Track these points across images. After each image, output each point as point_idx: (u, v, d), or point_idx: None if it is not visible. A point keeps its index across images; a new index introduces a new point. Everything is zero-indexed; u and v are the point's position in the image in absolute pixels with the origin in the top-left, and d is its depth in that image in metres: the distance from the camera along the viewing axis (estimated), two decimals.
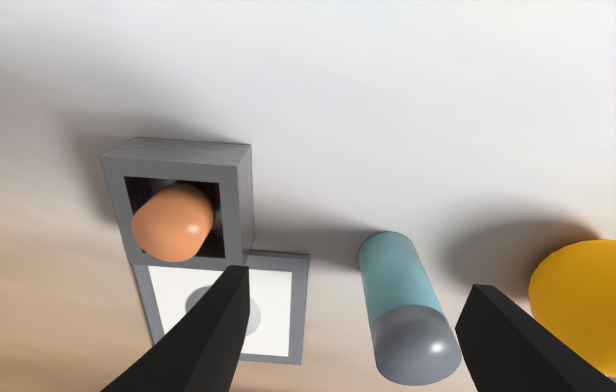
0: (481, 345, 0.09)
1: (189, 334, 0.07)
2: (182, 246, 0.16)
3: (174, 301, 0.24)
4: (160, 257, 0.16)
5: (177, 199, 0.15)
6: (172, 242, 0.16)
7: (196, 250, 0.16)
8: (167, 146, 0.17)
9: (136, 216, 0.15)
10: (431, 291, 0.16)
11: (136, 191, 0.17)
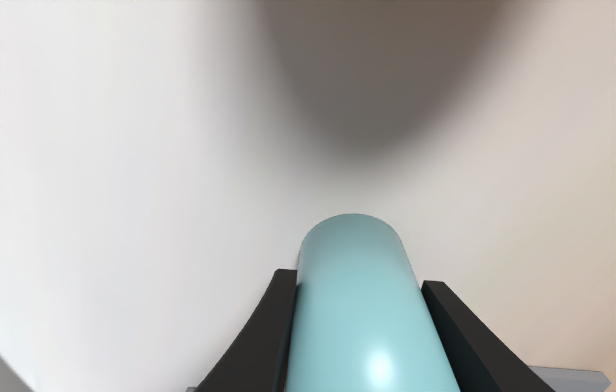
0: None
1: (259, 340, 0.06)
2: None
3: None
4: None
5: None
6: None
7: None
8: None
9: None
10: (307, 351, 0.07)
11: None
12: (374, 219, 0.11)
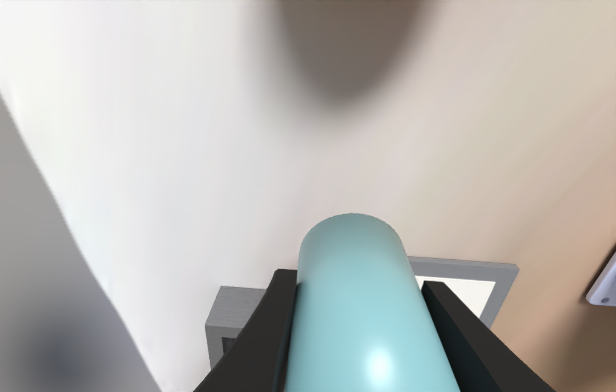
0: None
1: (259, 340, 0.06)
2: None
3: None
4: None
5: None
6: None
7: None
8: None
9: None
10: (307, 351, 0.07)
11: None
12: (374, 219, 0.11)
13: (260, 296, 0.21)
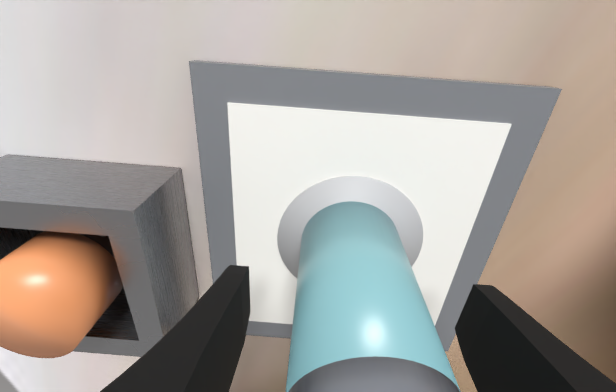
0: (481, 345, 0.09)
1: (189, 334, 0.07)
2: (33, 305, 0.09)
3: None
4: (82, 335, 0.10)
5: None
6: (32, 317, 0.09)
7: (32, 288, 0.09)
8: None
9: (7, 346, 0.10)
10: (309, 316, 0.08)
11: None
12: (371, 206, 0.11)
13: (70, 167, 0.11)
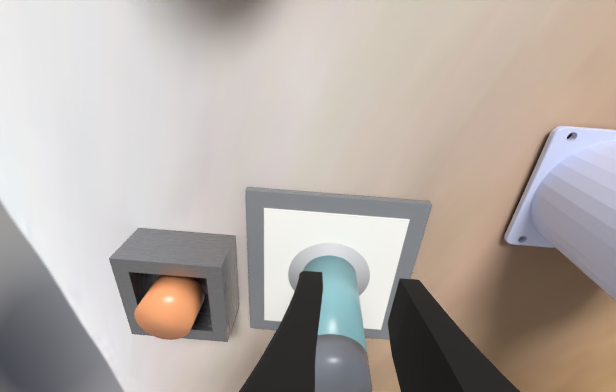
0: (402, 339, 0.09)
1: (295, 343, 0.06)
2: (172, 312, 0.19)
3: None
4: (191, 327, 0.19)
5: None
6: (170, 318, 0.19)
7: (174, 305, 0.18)
8: None
9: (151, 333, 0.20)
10: None
11: None
12: (339, 258, 0.21)
13: (176, 237, 0.21)
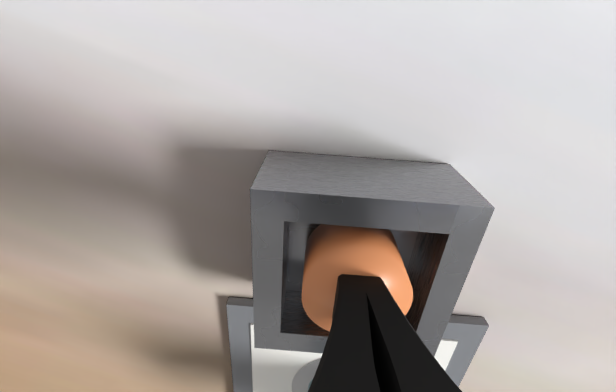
0: None
1: (351, 347, 0.06)
2: None
3: (277, 373, 0.17)
4: None
5: (377, 244, 0.10)
6: None
7: None
8: (334, 167, 0.10)
9: (317, 273, 0.09)
10: None
11: (285, 241, 0.10)
12: None
13: None
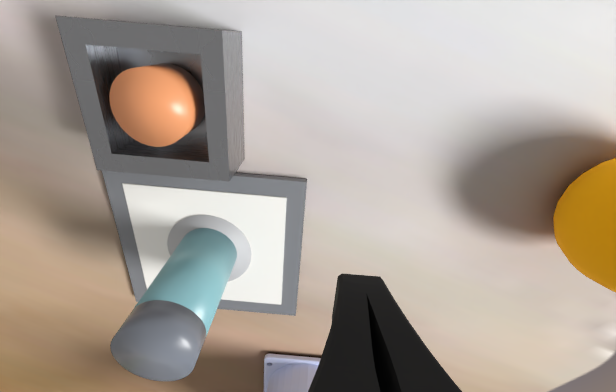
0: None
1: (351, 347, 0.06)
2: (167, 125, 0.14)
3: (154, 235, 0.21)
4: (143, 142, 0.15)
5: (162, 69, 0.14)
6: (156, 120, 0.14)
7: (182, 131, 0.14)
8: None
9: (115, 84, 0.13)
10: (199, 287, 0.16)
11: (103, 74, 0.14)
12: None
13: (239, 94, 0.16)
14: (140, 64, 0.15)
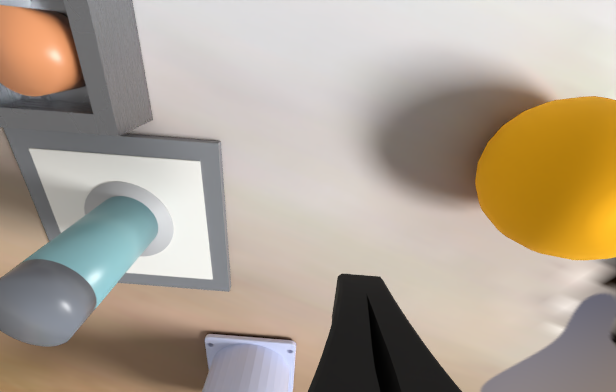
0: None
1: (351, 347, 0.06)
2: (39, 71, 0.13)
3: (70, 204, 0.20)
4: (19, 92, 0.14)
5: (28, 9, 0.13)
6: (26, 66, 0.13)
7: (56, 78, 0.14)
8: None
9: None
10: (91, 249, 0.16)
11: None
12: (156, 232, 0.21)
13: (132, 46, 0.16)
14: None
